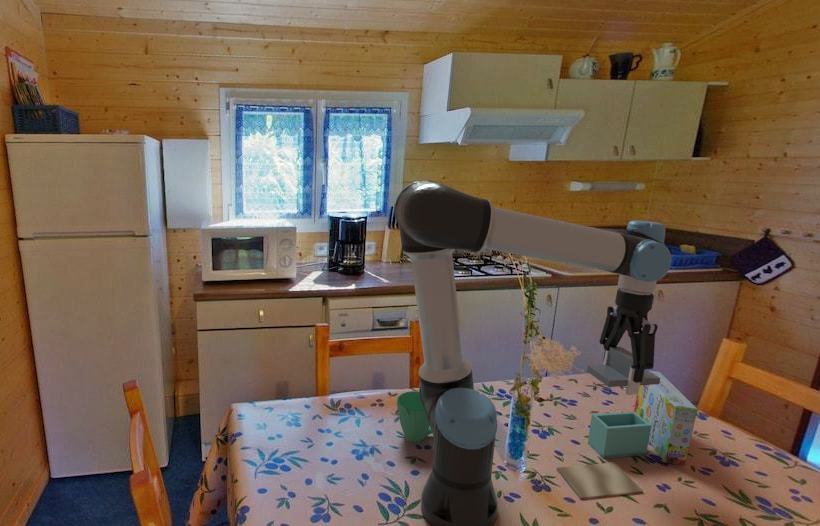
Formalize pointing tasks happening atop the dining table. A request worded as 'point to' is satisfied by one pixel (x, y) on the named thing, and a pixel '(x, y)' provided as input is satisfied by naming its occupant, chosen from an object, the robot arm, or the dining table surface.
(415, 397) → the mug
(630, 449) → the tub
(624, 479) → the plate
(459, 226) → the robot arm
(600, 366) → the lid
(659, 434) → the snack box
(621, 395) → the dining table surface
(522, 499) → the dining table surface
